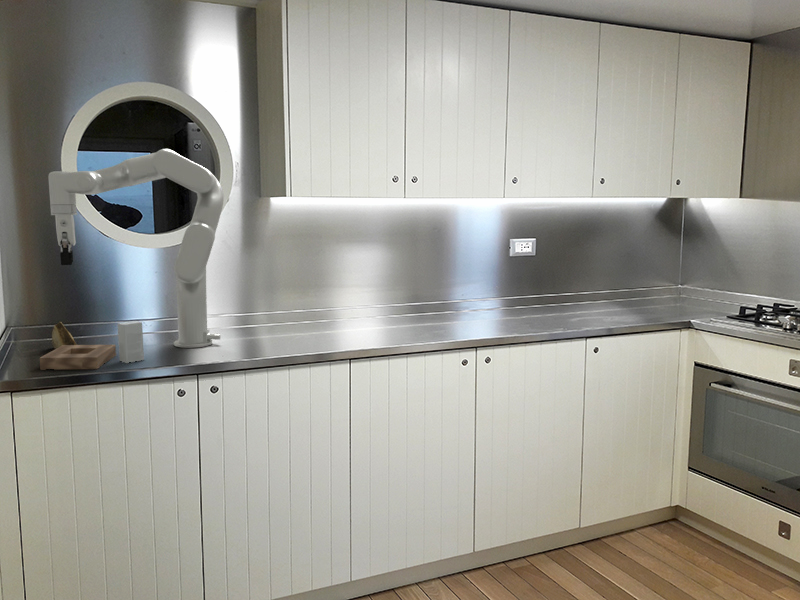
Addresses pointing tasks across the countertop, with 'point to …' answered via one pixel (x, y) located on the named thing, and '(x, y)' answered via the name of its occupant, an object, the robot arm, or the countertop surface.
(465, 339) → the countertop surface
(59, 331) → the rock
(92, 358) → the walnut holder
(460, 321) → the countertop surface
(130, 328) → the skincare box
